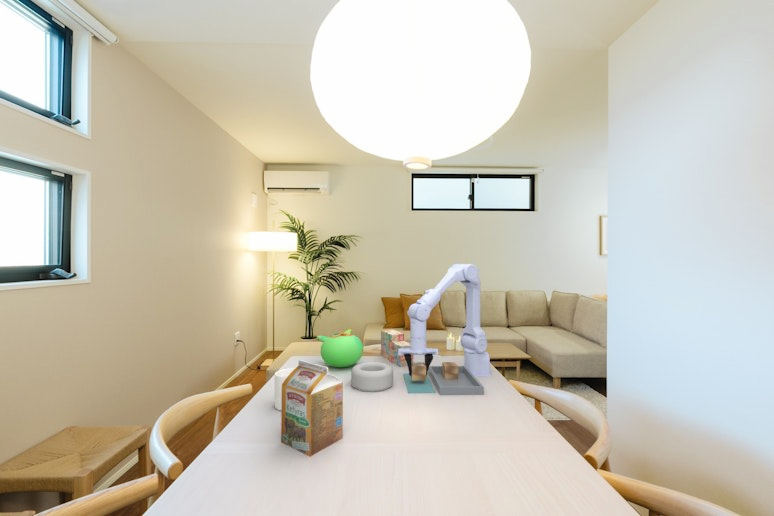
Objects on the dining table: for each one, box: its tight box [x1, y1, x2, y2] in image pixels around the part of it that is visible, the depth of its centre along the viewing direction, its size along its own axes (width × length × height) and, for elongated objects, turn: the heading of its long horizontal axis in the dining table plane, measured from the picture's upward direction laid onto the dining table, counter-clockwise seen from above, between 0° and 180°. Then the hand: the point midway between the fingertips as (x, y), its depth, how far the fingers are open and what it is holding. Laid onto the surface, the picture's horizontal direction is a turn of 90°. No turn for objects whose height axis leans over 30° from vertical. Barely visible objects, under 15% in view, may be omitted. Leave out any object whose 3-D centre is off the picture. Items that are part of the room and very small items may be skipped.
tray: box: [427, 365, 485, 396], centre depth 129 cm, size 15×24×3 cm, turn 2°
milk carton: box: [280, 359, 344, 457], centre depth 88 cm, size 11×11×19 cm
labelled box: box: [411, 361, 426, 381], centre depth 128 cm, size 5×5×5 cm
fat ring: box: [350, 361, 394, 393], centre depth 128 cm, size 15×15×7 cm
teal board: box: [402, 372, 436, 394], centre depth 128 cm, size 9×20×1 cm, turn 3°
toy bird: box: [316, 328, 364, 368], centre depth 150 cm, size 18×17×15 cm
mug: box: [274, 367, 295, 412], centre depth 107 cm, size 12×8×10 cm
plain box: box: [441, 361, 459, 379], centre depth 135 cm, size 5×5×5 cm
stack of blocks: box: [380, 328, 414, 368], centre depth 158 cm, size 21×6×12 cm, turn 24°
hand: (418, 374), depth 128 cm, fingers closed on labelled box, 5 cm apart
